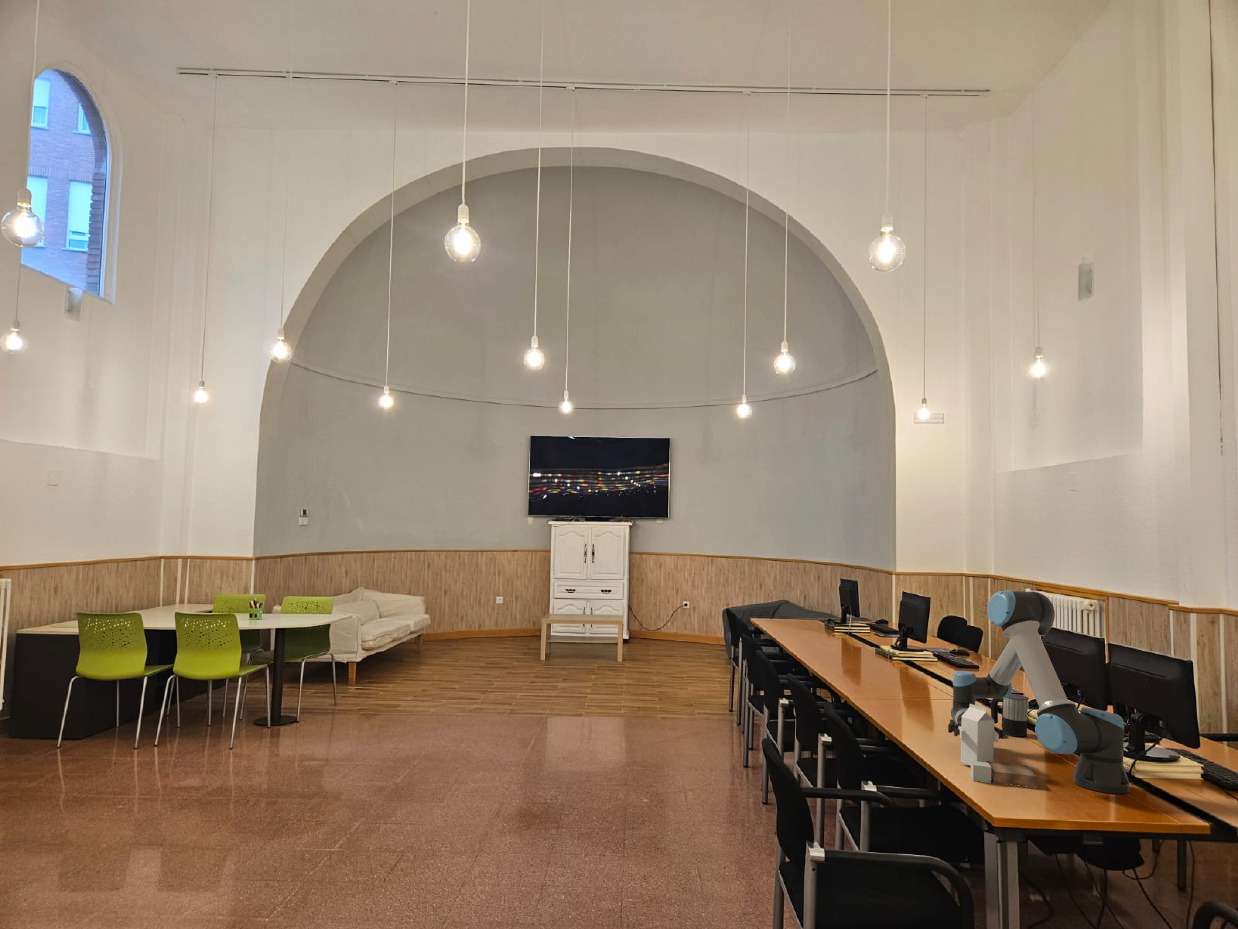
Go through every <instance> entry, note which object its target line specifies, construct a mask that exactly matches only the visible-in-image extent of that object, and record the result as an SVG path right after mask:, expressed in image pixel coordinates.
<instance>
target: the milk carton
mask: <svg viewBox="0 0 1238 929" xmlns="http://www.w3.org/2000/svg"><path fill="white" fill-rule="evenodd" d="M994 726H995V724H994V720H993V719H992V717H991V714H989V713H988V712H987V708H986V707H983V706H979V705H976V704H975V705H973V704H970V707H969V708H968V709H967V711H966V712H965V713H964V714H963V715H962V720H961V728H962V729H963V730H964V739H961V738H960V763H962V764H965V765H968V766H970V767H971V761H978V762H987V761H992V762H995V760H994V758H995V757H994V754H995V752H994V751H995V746H994V745H995V741H994Z"/></svg>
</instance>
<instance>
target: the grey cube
mask: <svg viewBox="0 0 1238 929" xmlns="http://www.w3.org/2000/svg"><path fill="white" fill-rule="evenodd" d="M969 775H970V779H971V778H972V779H971V780H972V782H975V781H980V782H979V783H983V782H985V784H991V782H992V780H991V766H990V765H989V764H988V763H987V762H978V761H971V766H970V774H969Z"/></svg>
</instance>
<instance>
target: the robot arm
mask: <svg viewBox="0 0 1238 929" xmlns="http://www.w3.org/2000/svg"><path fill="white" fill-rule="evenodd" d="M1055 611H1056V610H1055V607H1054V604H1053V602H1052V601H1051V600H1050V599H1049V597H1048V596H1046V595H1045V594H1043V593H1041V592H1039V591H1031V590H1030V591H1027V590H1026V591H1022V590H1020V591H1019V590H1010V589H1009V590H1008V589H1007V590H999V591H996V592H994V594H992V595H991V597H990V598H989V600H988V604H987V617H988V619H989V621H990V622H991V623H992V624H993V625H994V626H997V627H1000V628H1001V631H1002V633H1003V635H1004V636H1005V637H1006V638H1010V640H1008V642H1007V644H1006V646H1005V648H1004V649H1003V650H1002V652H1001V653H1000V655H999V657H998V658H997V660H996V662H995V663H994V665H993V666H992V668H991V670H990V671H989V672H988V673H987V676H984V677H983V676H981V677H980V676H976V673H975V672H972V671H967V670H957V671H955V672H954V673H953V678H952V706H951V709H950V717H951V719H949V724H947V733H949V734H951V733H953V736H954V737H959V738H960V740H961V739H964V730H963V729H962V728H961V720H962V715H963V714H964V713H965V712H966V711H967V709H968V708H969V707H970V704H973V705H976V700H977V699H993V698H996V699H1001V698H1007V697H1009V696H1010V695H1011V694H1013V693H1012V690H1013V686H1012V681H1013V680H1014V678H1015V677H1016V675H1017V674H1018V672H1019V670H1020V669H1021V667H1022V669H1023V671H1024V674H1025V677H1026V678H1027V681H1028V683H1029V686H1030V688H1031V690H1032V693H1033V696H1034V698H1035V700H1036V702H1037V705H1038V710H1037V712H1036V716H1037V718H1036V720H1035V723H1034V724H1035V727H1034V731H1035V735H1036V738H1037V739H1038V741H1039V743H1040V744H1041V745H1042V746H1043V748H1045V749H1046V750H1048V751H1049V752H1051V753H1054V754H1061V755H1062V754H1063V755H1071V754H1079V759H1078V762H1077V765H1076V767H1075V770H1074V772H1073V777H1072V778H1073V779H1072V780H1073V783H1075V784H1076V785H1077V786H1079V787H1082V788H1084V789H1087V790H1091V791H1096V792H1099V793H1107V794H1116V795H1117V794H1118V795H1119V794H1128V793H1130V787H1131V786H1130V780H1129V777H1128V775H1127V772H1126V769H1125V766H1124V747H1125V746H1124V745H1125V744H1124V742H1125V739H1124V737H1125V728H1124V719H1123V717H1122V716H1120V715H1119V714H1117V713H1113V712H1111V711H1106V710H1101V709H1097V708H1092V707H1081V709H1080V711H1079V710H1078V708H1077V704H1075V703H1074V702H1073V701H1071V700H1068V698H1067V695H1066V693H1065V690H1064V688H1063V686H1062V684H1061V682H1060V679H1059V677H1058V674H1057V672H1056V670H1055V668H1054V666H1053V663H1052V661H1051V659H1050V656H1049V653H1048V651H1047V650H1046V647H1045V645H1044V643H1043V641H1042V638H1041V637H1044V636H1046V635H1047V634H1048V633H1049V631H1051V629H1052V627H1053V625H1054V622H1055V617H1056V612H1055ZM1000 739H1004V737H1003V730H1002V728H999V727H997V726H996V725H994V743H995V744H999V741H1000Z"/></svg>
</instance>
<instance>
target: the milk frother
mask: <svg viewBox="0 0 1238 929" xmlns="http://www.w3.org/2000/svg"><path fill="white" fill-rule="evenodd" d="M1029 699H1030V698H1029V697H1028V696H1026V695H1020V694H1016V693H1011V695H1010V696H1009V697H1007V698H1001V699H996V698H991V701H990V716H991V717H992V719H993V720H994V725H996V724H998V723H999V703H1002V705H1001V706H1002V708H1001V730H1003V738H1004V736H1005V737H1006V734H1007V736H1009V735H1010V736H1009V737H1014V736H1027V735H1028V711H1029V710H1028V708H1029V707H1028V705H1029ZM1027 737H1028V736H1027Z"/></svg>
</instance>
